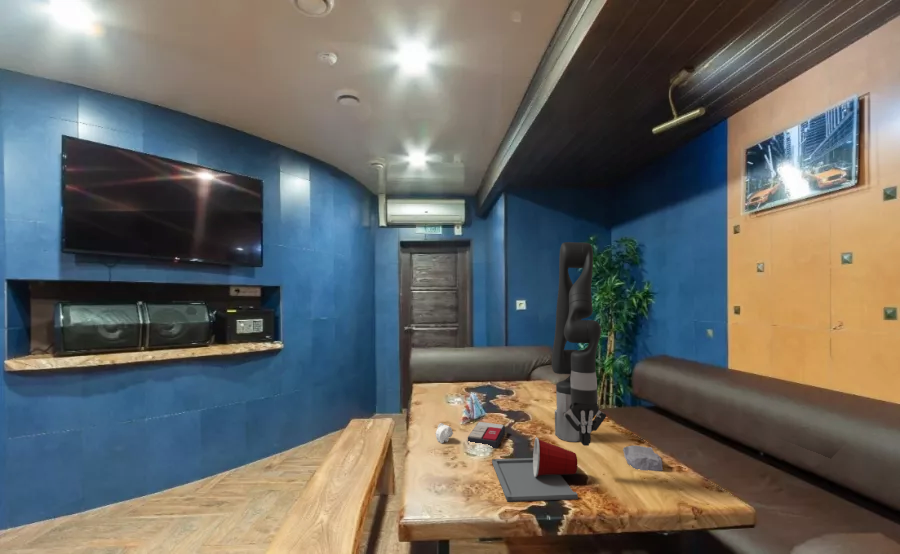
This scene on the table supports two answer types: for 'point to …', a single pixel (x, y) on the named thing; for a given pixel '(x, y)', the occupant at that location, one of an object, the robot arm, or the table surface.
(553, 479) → the grey tray
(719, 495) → the table surface
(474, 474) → the table surface
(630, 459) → the stone block
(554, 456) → the plastic cup
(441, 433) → the elephant figurine
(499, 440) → the grey and red box
